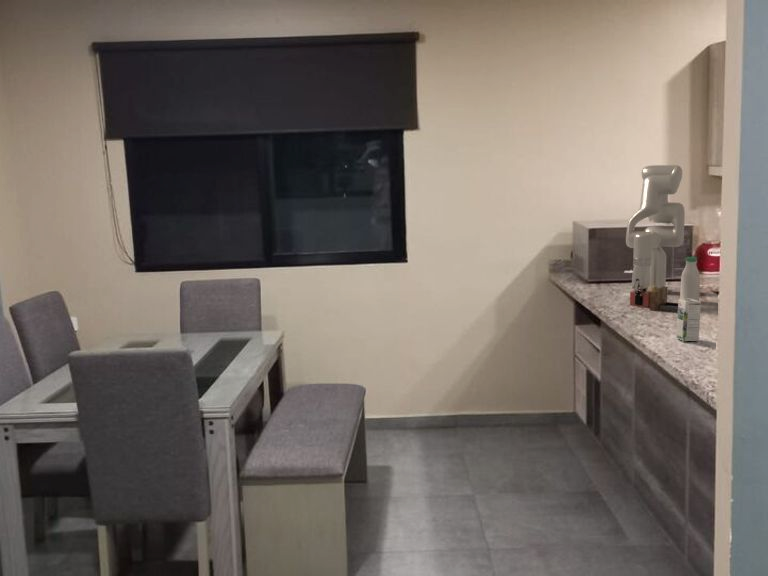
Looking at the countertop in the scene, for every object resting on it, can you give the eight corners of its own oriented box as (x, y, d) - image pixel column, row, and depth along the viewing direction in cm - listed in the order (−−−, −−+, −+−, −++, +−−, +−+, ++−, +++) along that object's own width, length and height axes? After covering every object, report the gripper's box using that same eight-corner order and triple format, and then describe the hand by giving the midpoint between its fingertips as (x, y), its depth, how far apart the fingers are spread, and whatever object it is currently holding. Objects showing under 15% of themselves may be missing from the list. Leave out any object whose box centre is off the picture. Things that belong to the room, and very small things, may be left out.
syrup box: (675, 339, 267) (677, 298, 265) (691, 338, 268) (693, 298, 265) (683, 342, 262) (685, 301, 259) (699, 342, 262) (701, 301, 260)
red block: (633, 303, 332) (634, 289, 331) (651, 305, 327) (652, 290, 326) (629, 305, 328) (630, 290, 327) (648, 307, 324) (648, 292, 322)
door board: (661, 304, 328) (662, 282, 327) (667, 305, 327) (668, 282, 325) (649, 310, 317) (650, 286, 315) (655, 311, 315) (656, 287, 314)
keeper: (665, 306, 324) (665, 301, 324) (694, 309, 317) (694, 304, 317) (658, 309, 318) (658, 305, 317) (687, 313, 310) (687, 308, 310)
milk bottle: (700, 304, 328) (702, 258, 324) (681, 303, 329) (683, 258, 326) (696, 300, 335) (699, 256, 332) (678, 300, 337) (680, 256, 333)
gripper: (640, 259, 333) (639, 300, 336) (626, 264, 320) (625, 306, 323) (657, 260, 329) (656, 301, 332) (644, 265, 316) (642, 308, 319)
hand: (640, 303), depth 327 cm, fingers closed on red block, 4 cm apart
